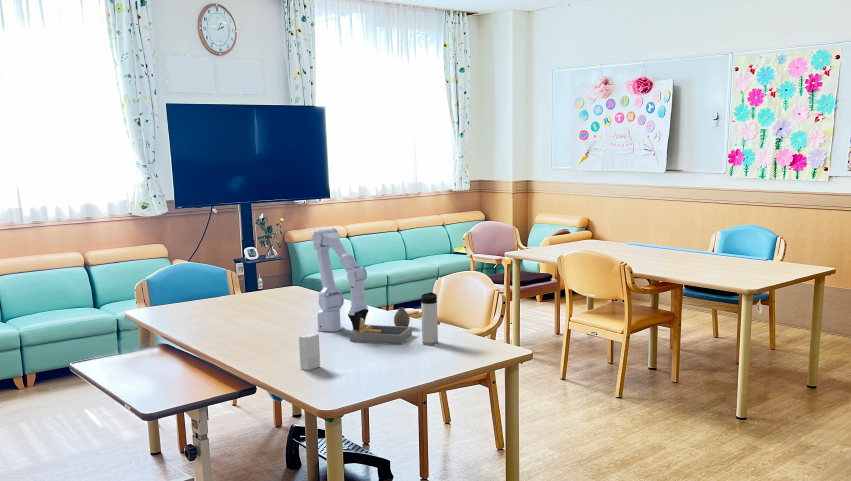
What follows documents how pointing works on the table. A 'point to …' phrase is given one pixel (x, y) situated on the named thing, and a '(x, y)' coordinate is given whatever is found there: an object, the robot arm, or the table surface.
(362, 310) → the robot arm
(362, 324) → the jar
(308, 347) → the skincare box
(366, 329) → the pusher
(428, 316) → the travel mug
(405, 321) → the brown rounded piece
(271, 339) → the table surface
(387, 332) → the lane
